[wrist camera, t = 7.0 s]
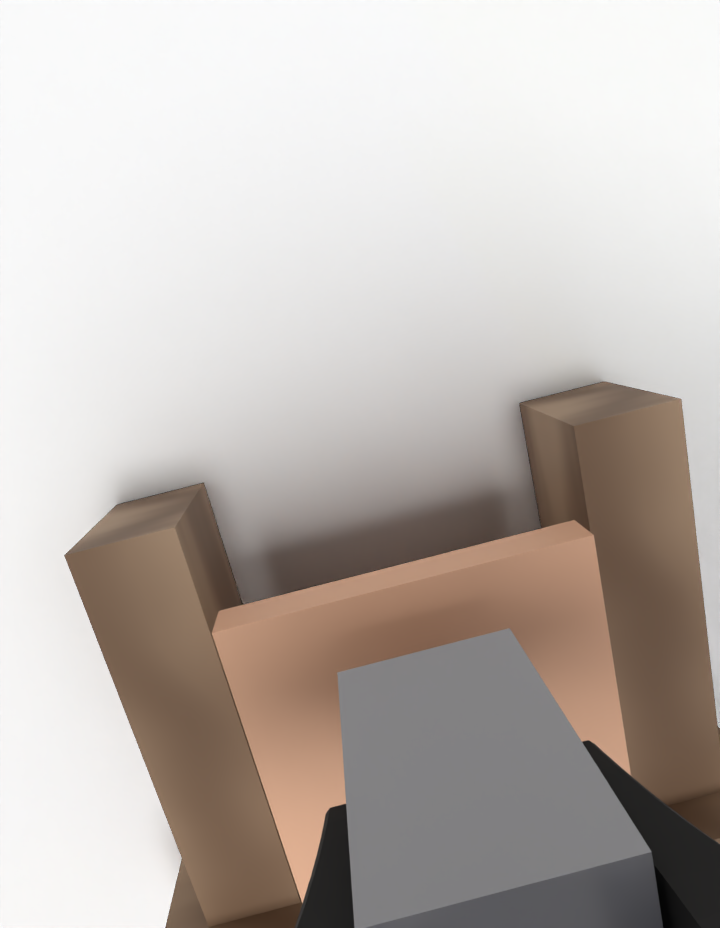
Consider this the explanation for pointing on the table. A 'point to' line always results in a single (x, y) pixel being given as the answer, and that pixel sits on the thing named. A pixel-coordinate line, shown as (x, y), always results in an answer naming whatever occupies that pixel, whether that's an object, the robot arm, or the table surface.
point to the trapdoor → (404, 632)
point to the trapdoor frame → (214, 589)
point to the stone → (481, 800)
